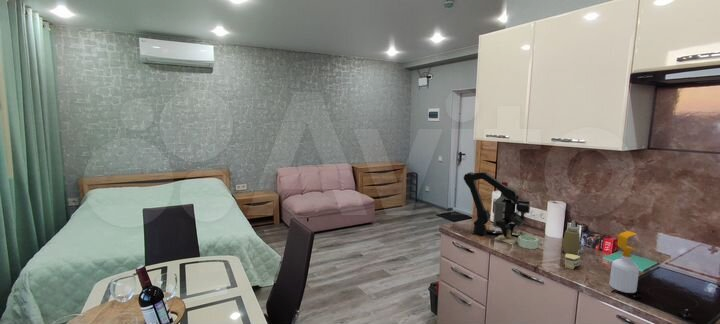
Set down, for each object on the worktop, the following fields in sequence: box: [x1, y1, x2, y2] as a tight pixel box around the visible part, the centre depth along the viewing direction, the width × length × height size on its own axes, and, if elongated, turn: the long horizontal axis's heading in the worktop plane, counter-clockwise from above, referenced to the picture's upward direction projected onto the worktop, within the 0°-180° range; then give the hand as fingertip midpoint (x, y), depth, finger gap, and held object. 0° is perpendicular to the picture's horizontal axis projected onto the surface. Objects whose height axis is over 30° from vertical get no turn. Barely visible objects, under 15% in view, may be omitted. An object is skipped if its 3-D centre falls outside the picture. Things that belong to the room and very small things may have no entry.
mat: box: [493, 236, 517, 245], centre depth 198 cm, size 11×11×1 cm
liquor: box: [492, 181, 509, 228], centre depth 222 cm, size 9×9×30 cm
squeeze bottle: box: [561, 219, 581, 255], centre depth 178 cm, size 8×8×18 cm
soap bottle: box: [609, 230, 640, 294], centre depth 140 cm, size 9×9×25 cm
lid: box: [497, 229, 518, 244], centre depth 197 cm, size 11×11×6 cm
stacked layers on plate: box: [564, 253, 581, 270], centre depth 162 cm, size 10×9×6 cm
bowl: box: [517, 234, 540, 250], centre depth 188 cm, size 10×10×5 cm
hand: (507, 236), depth 197 cm, fingers open, 5 cm apart
